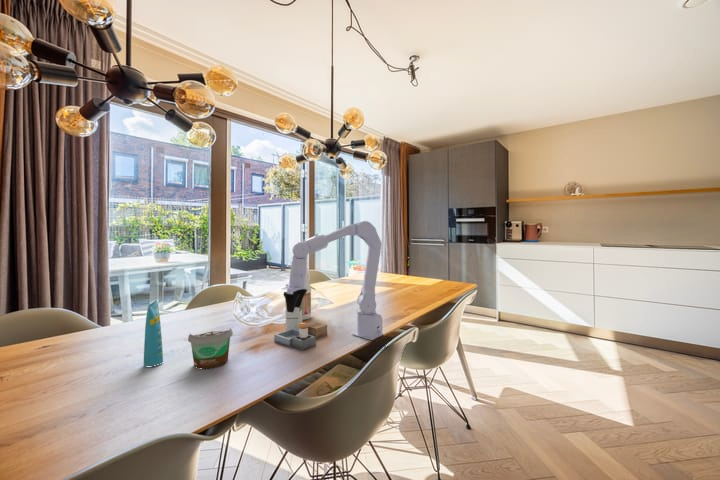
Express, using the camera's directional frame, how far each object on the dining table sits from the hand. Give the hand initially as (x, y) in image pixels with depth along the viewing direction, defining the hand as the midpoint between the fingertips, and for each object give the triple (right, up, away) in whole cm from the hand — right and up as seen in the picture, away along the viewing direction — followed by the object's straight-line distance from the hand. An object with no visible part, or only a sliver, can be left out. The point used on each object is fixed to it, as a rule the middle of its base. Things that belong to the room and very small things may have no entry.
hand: (293, 309), depth 113 cm
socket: (+5, -11, -8) cm, 14 cm away
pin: (+5, -11, -8) cm, 14 cm away
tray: (0, -11, -3) cm, 11 cm away
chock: (+8, -11, +4) cm, 14 cm away
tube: (-37, -12, -22) cm, 45 cm away
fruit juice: (-3, -10, +26) cm, 28 cm away
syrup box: (-2, -11, +11) cm, 16 cm away
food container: (-19, -12, -24) cm, 33 cm away
